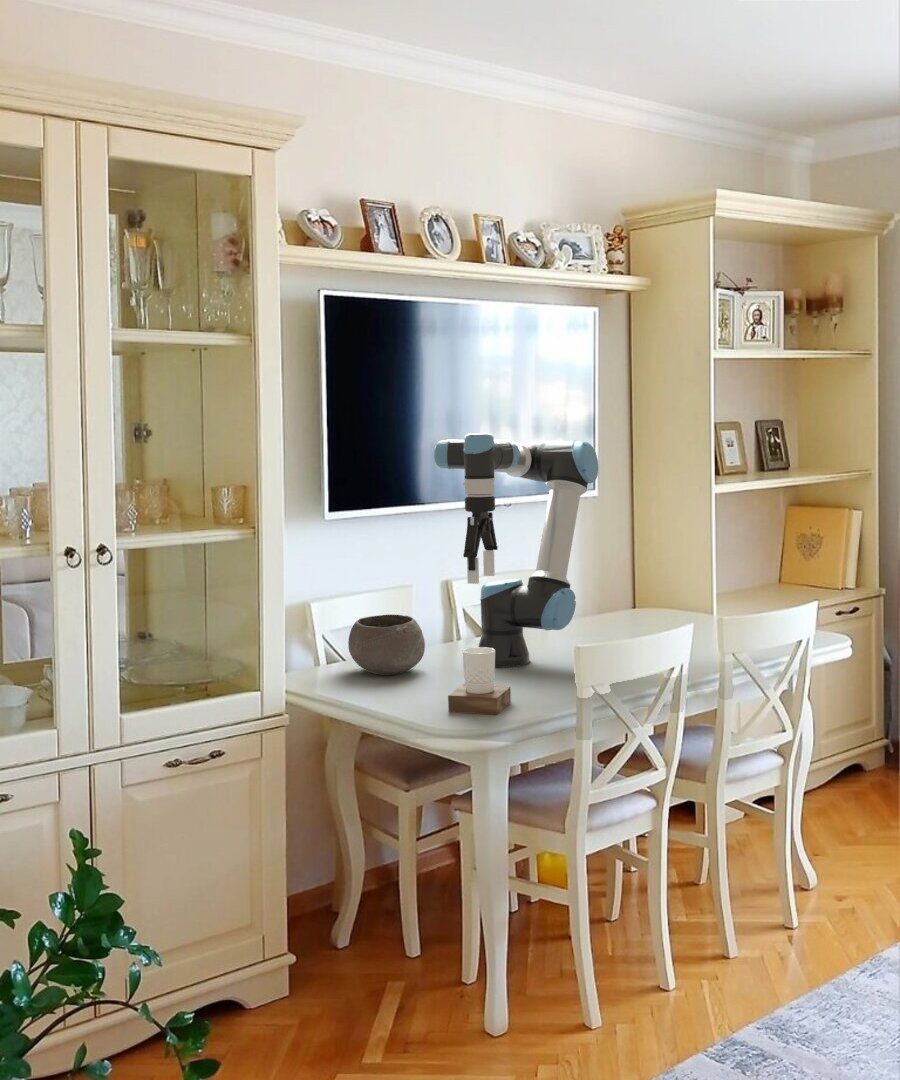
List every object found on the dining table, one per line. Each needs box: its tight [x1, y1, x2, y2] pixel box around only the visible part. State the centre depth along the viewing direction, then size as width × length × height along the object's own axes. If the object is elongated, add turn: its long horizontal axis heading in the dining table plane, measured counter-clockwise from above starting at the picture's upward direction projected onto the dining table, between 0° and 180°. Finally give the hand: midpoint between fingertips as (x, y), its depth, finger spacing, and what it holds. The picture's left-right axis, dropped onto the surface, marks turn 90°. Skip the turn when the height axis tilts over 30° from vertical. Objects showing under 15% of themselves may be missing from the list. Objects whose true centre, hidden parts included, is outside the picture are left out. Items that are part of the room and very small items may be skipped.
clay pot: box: [347, 614, 426, 676], centre depth 342 cm, size 21×21×15 cm
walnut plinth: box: [447, 683, 512, 716], centre depth 302 cm, size 12×12×4 cm
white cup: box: [462, 646, 496, 694], centre depth 301 cm, size 8×8×10 cm
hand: (481, 579), depth 316 cm, fingers open, 13 cm apart
